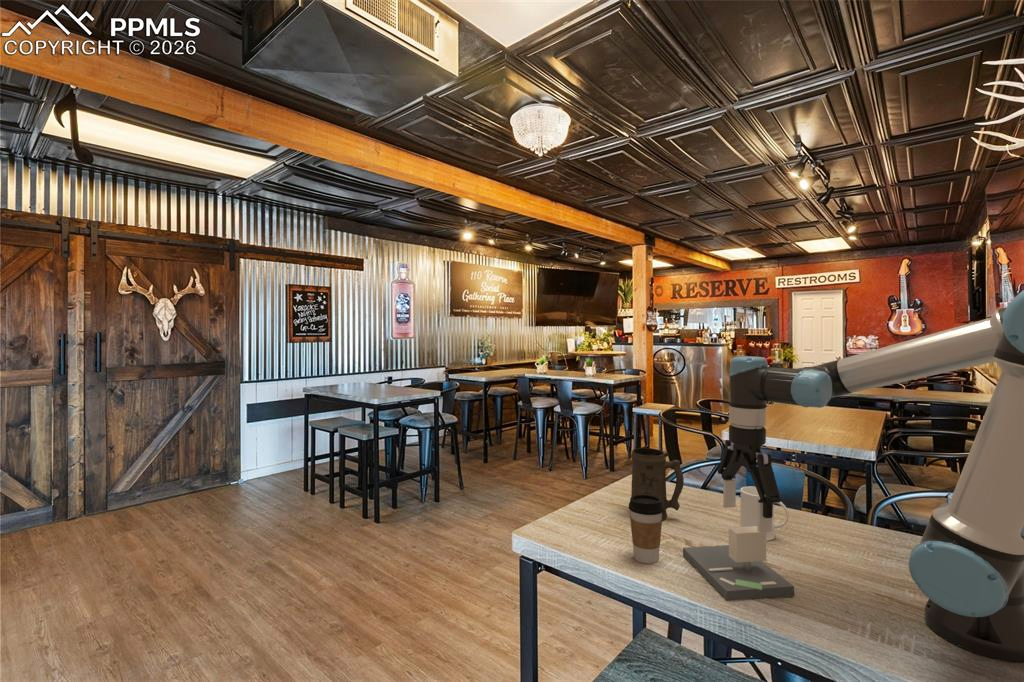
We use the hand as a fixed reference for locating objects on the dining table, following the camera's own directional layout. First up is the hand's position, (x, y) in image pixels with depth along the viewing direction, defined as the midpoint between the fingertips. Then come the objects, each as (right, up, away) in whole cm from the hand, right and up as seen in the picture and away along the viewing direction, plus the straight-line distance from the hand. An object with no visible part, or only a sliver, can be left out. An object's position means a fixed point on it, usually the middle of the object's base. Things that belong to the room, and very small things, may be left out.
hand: (745, 518), depth 109 cm
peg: (-2, -12, 0) cm, 12 cm away
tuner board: (-2, -13, +2) cm, 14 cm away
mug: (+15, -13, +22) cm, 29 cm away
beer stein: (-9, -13, +36) cm, 40 cm away
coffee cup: (-20, -14, +10) cm, 26 cm away
